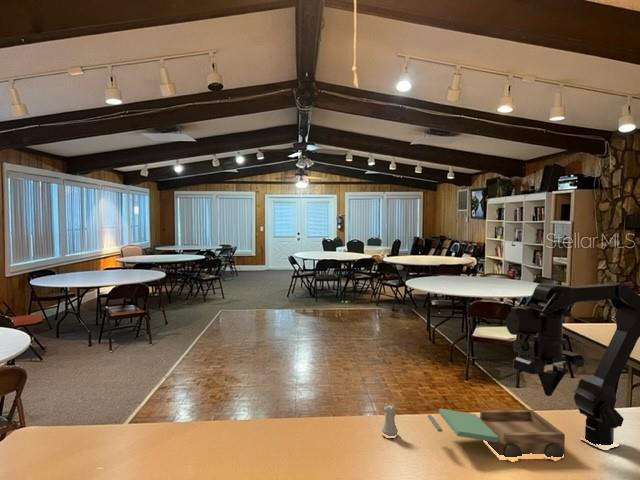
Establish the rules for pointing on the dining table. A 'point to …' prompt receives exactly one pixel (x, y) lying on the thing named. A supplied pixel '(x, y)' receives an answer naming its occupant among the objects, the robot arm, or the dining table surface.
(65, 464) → the dining table surface
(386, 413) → the rook chess piece
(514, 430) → the cart
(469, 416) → the panel
